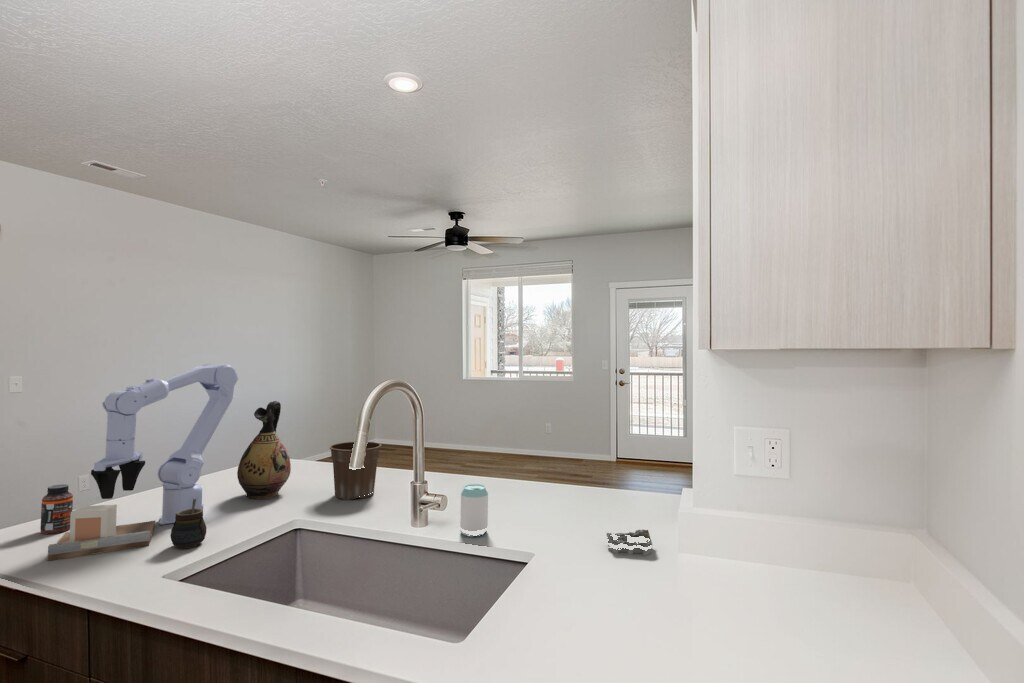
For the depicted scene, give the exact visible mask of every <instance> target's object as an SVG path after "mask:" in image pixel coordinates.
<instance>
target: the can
mask: <svg viewBox="0 0 1024 683" xmlns="http://www.w3.org/2000/svg"><path fill="white" fill-rule="evenodd" d="M488 512H489V492H488V490H487V488H486V485H483V484H478V483H473V484H466V485H464V486H463V489H462V491H461V492H460V520H459V521H460V523H459V524H460V525H459V526H460V527H461V528H462V529H464V530H468V531H477V530H482V529H485V528H487V526H488V525H489V524H488V523H489V520H488V519H489V518H488V517H489V513H488ZM460 527H459V528H460ZM488 527H489V526H488ZM459 532H460V533H461V534H462V535H463V536H465V537H469V538H474V537H473V535H470V536H467V535H469V534H466V533H463V532H462V531H461V530H460V529H459ZM479 535H482V534H479ZM479 535H477V536H479ZM482 536H483V535H482Z"/></svg>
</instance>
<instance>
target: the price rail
mask: <svg viewBox="0 0 1024 683" xmlns="http://www.w3.org/2000/svg"><path fill="white" fill-rule="evenodd" d="M149 537H150V531H144V532H136V533H129V534H122V535H115V536H108V537H100V538H93V539H86V540H79V541H72V542H65V543H58V542H57V543H52V544H49V545H48V546H47V556H48V555H54V554H60V553H67V552H74V551H81V550H88V549H94V548H101V547H108V546H115V545H122V544H128V543H135V542H142V541H149Z"/></svg>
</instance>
